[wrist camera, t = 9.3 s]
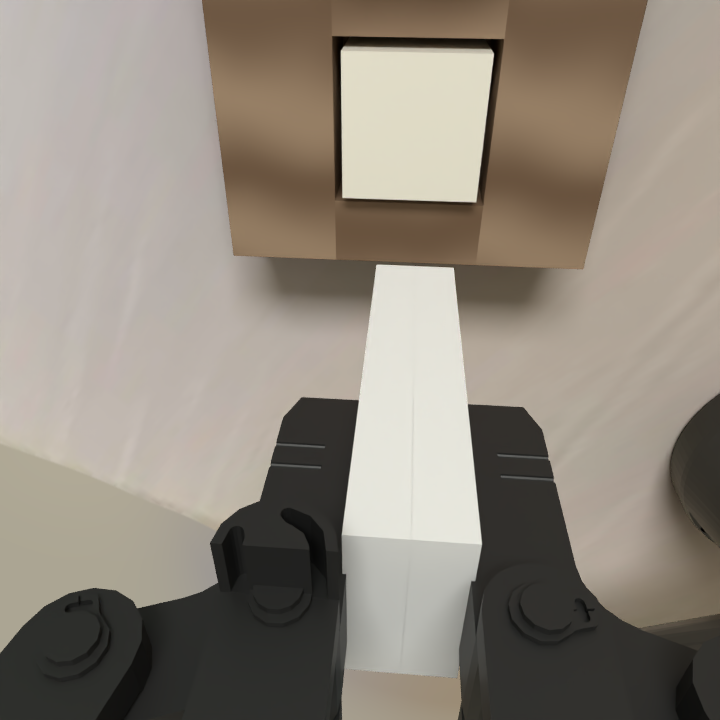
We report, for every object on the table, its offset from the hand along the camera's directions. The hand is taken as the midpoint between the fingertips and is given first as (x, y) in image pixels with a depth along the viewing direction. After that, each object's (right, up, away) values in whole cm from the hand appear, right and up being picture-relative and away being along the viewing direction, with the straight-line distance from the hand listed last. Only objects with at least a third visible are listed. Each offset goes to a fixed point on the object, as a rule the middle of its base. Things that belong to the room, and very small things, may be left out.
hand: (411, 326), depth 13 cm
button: (+1, +11, +15) cm, 19 cm away
